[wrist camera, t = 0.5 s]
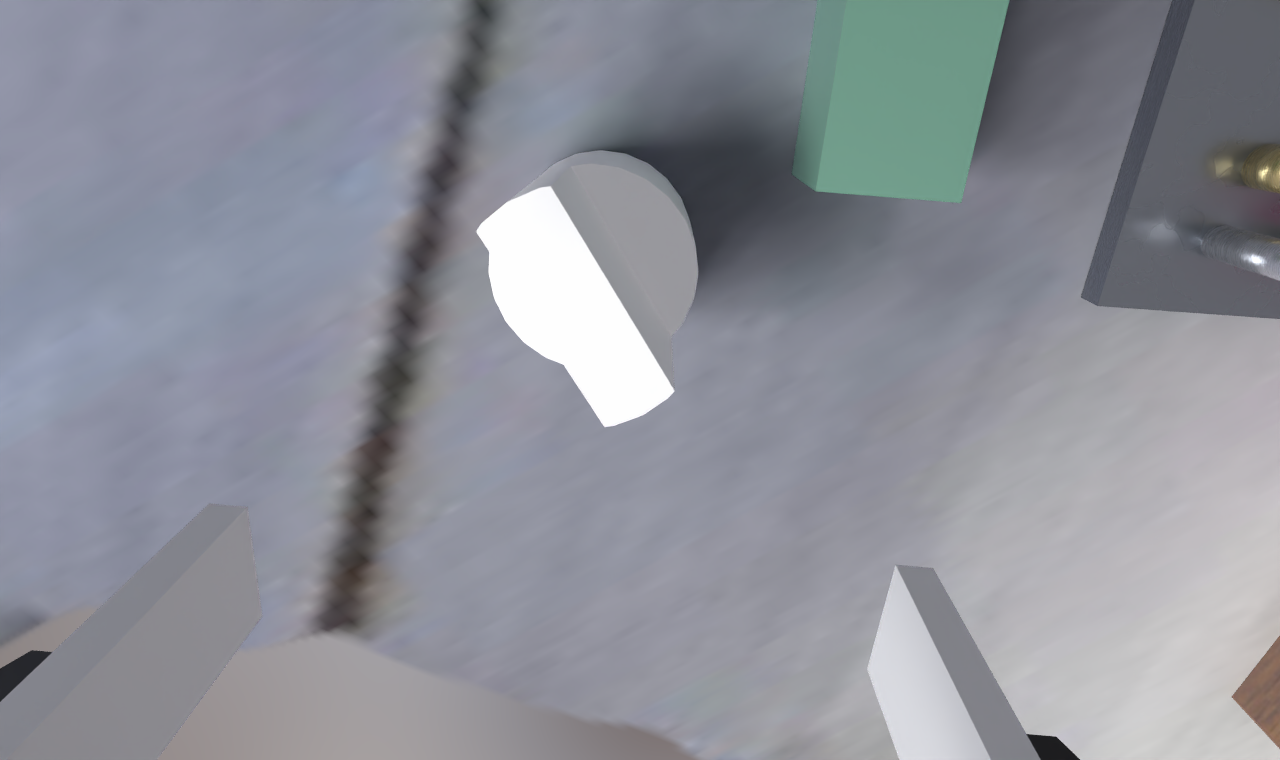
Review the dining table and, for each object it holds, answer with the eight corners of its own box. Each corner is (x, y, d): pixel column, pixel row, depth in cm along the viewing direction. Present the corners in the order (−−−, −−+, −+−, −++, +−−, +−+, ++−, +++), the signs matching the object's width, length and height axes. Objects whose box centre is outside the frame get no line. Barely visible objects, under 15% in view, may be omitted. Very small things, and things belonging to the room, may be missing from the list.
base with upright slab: (478, 209, 36) (399, 267, 25) (635, 113, 34) (624, 130, 23) (574, 357, 39) (541, 467, 28) (723, 276, 37) (751, 359, 26)
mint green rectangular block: (834, -118, 31) (872, -162, 25) (975, -107, 31) (1044, -147, 25) (791, 173, 35) (815, 191, 30) (913, 183, 36) (961, 202, 30)
